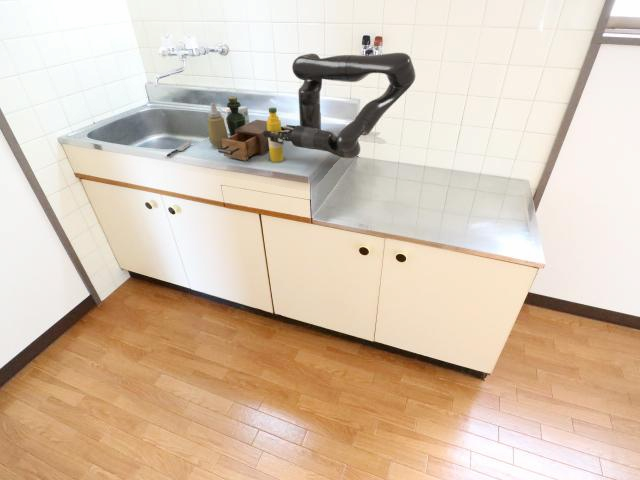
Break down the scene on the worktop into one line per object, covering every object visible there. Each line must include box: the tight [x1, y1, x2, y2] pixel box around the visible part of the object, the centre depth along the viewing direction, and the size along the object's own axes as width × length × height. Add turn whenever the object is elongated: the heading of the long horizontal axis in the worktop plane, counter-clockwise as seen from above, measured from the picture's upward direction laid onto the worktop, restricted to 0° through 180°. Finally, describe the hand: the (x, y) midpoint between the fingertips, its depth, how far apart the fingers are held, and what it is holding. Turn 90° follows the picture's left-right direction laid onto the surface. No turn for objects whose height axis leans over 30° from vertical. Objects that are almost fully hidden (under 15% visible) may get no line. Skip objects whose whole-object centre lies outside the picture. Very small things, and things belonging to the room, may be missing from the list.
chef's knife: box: [166, 140, 192, 157], centre depth 157 cm, size 19×1×3 cm
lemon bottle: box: [266, 107, 284, 163], centre depth 141 cm, size 5×5×20 cm
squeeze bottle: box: [206, 102, 229, 149], centre depth 154 cm, size 8×8×18 cm
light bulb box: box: [220, 104, 250, 135], centre depth 172 cm, size 11×7×11 cm, turn 130°
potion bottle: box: [226, 96, 245, 137], centre depth 161 cm, size 8×8×18 cm
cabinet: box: [235, 119, 270, 156], centre depth 156 cm, size 15×12×9 cm
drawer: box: [217, 133, 259, 162], centre depth 147 cm, size 19×11×7 cm, turn 151°
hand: (269, 130), depth 141 cm, fingers open, 5 cm apart
